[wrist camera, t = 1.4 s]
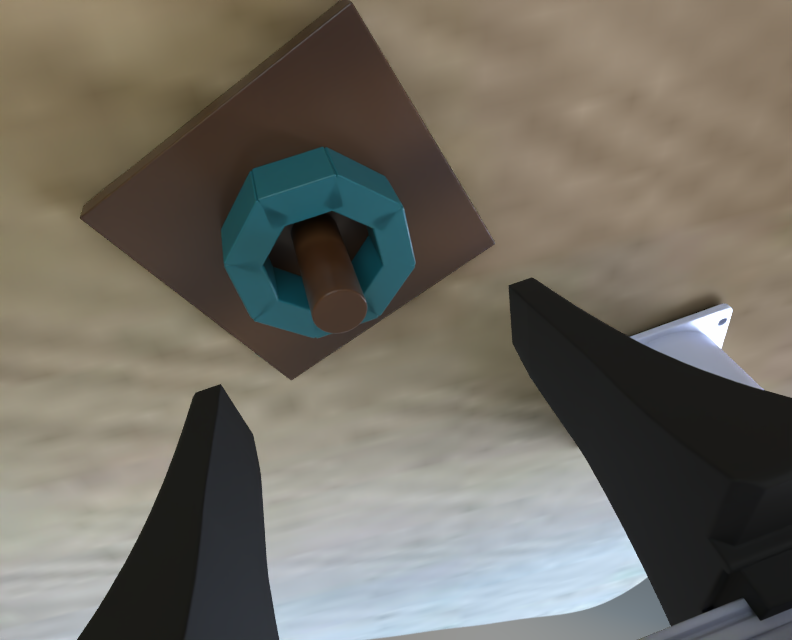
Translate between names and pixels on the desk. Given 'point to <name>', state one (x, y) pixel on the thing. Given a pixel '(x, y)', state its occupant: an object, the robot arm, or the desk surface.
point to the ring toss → (278, 139)
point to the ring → (302, 199)
